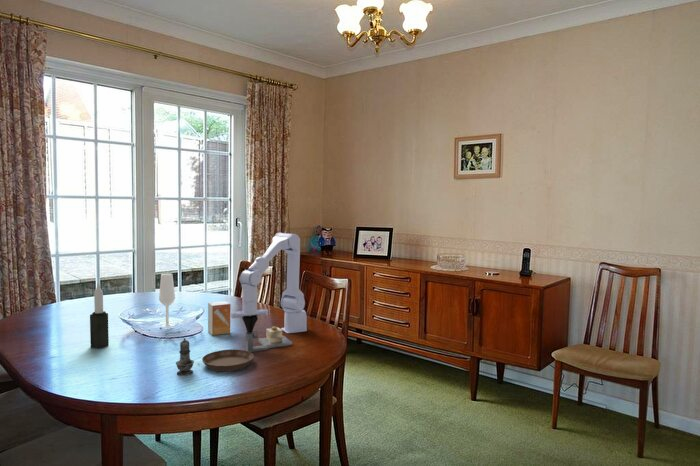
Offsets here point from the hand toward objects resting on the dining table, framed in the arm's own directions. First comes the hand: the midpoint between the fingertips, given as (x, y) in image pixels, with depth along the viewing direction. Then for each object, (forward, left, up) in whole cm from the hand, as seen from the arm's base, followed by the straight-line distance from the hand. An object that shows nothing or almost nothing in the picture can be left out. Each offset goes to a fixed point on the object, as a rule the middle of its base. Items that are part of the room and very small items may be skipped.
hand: (249, 334), depth 192 cm
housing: (-10, +2, -3) cm, 10 cm away
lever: (0, +3, -1) cm, 3 cm away
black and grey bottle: (+53, -22, -5) cm, 58 cm away
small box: (+7, -22, -5) cm, 24 cm away
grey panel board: (-6, +3, -4) cm, 8 cm away
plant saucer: (+13, +18, -5) cm, 23 cm away
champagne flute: (+26, -39, -5) cm, 47 cm away
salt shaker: (+28, +20, -5) cm, 35 cm away
